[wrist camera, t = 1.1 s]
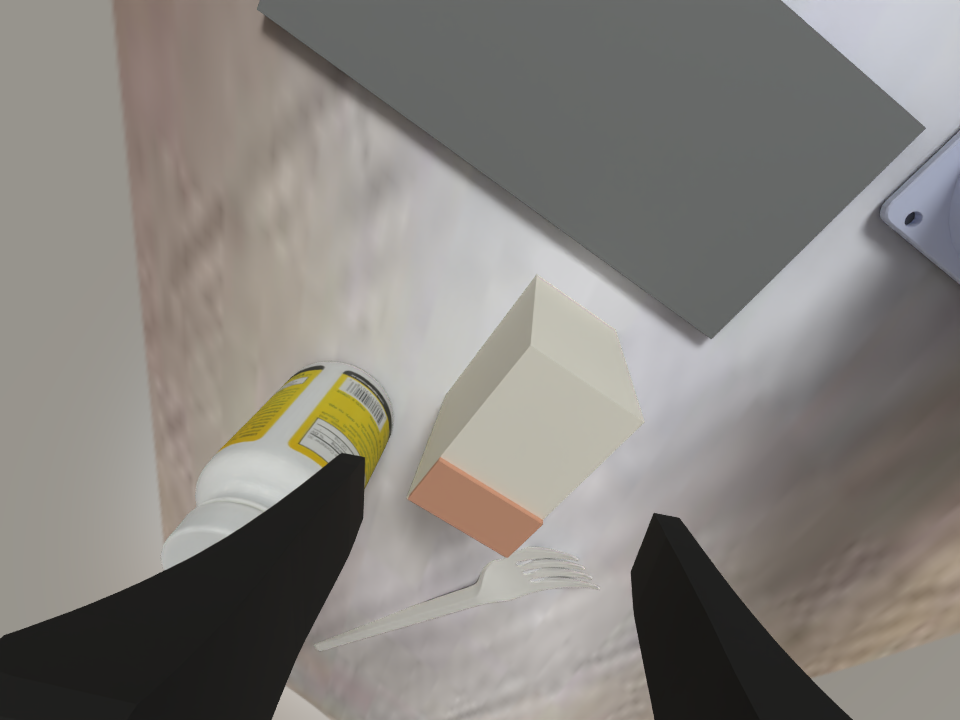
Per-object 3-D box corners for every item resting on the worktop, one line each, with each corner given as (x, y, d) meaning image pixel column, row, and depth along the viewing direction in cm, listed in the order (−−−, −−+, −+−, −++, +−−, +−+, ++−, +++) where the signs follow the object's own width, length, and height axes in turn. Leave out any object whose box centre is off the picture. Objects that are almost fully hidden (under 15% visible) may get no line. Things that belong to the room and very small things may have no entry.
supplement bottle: (287, 440, 25) (145, 611, 16) (289, 346, 23) (123, 487, 14) (390, 465, 25) (303, 652, 16) (403, 373, 22) (308, 533, 14)
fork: (304, 622, 33) (290, 649, 31) (572, 523, 25) (572, 552, 24) (335, 651, 33) (323, 679, 32) (602, 565, 26) (605, 596, 25)
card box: (615, 329, 20) (645, 426, 14) (516, 439, 23) (503, 561, 17) (536, 274, 20) (530, 348, 13) (446, 394, 23) (404, 502, 16)
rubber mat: (915, 128, 16) (926, 128, 15) (707, 334, 20) (711, 339, 19) (387, -336, 13) (381, -352, 13) (264, 12, 17) (256, 9, 16)
